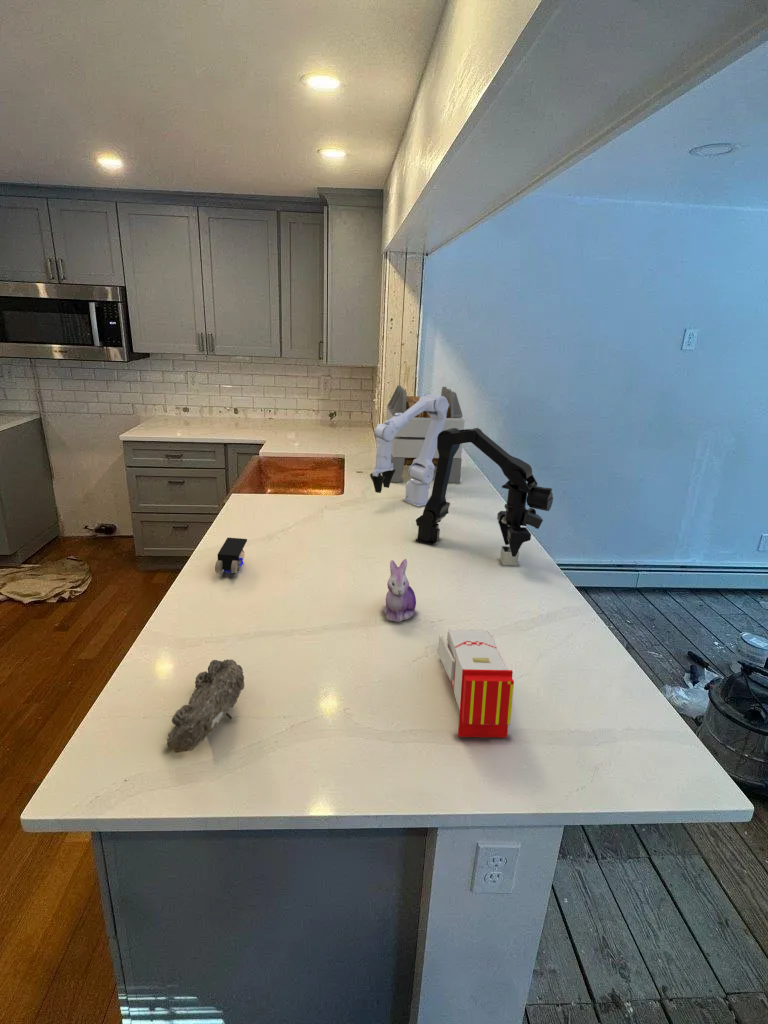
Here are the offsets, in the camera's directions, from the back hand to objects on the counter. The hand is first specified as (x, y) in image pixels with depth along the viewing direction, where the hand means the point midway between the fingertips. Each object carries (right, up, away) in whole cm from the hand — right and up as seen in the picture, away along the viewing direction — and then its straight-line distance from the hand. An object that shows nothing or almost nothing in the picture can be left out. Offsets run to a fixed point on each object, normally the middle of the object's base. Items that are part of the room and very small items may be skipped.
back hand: (382, 489), depth 220 cm
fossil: (-32, -48, -112) cm, 126 cm away
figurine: (+5, -35, -72) cm, 80 cm away
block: (+40, -25, -39) cm, 61 cm away
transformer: (+18, +10, +55) cm, 59 cm away
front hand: (+41, -21, -40) cm, 61 cm away
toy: (+19, -46, -101) cm, 113 cm away
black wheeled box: (-44, -26, -52) cm, 73 cm away
